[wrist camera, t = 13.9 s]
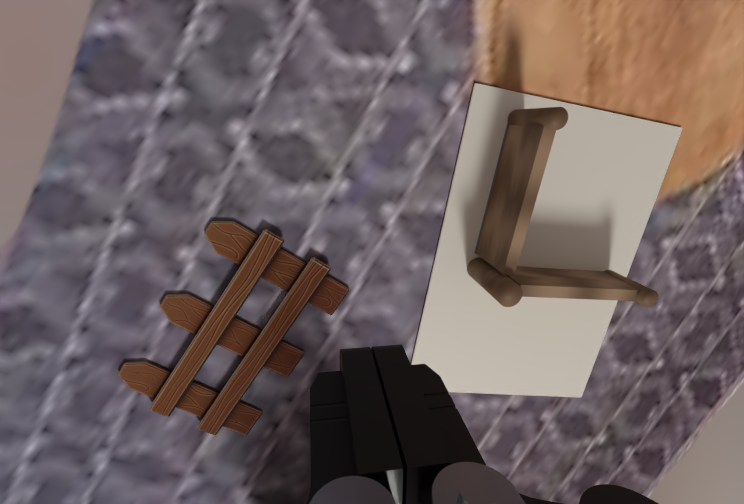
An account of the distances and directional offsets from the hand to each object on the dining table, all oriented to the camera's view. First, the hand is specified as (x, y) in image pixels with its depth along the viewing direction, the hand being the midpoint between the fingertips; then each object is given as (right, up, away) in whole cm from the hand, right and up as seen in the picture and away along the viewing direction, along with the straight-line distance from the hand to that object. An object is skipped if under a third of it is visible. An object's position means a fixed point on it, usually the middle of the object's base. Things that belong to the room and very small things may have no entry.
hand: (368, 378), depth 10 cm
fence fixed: (+13, +9, +31) cm, 35 cm away
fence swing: (+21, +1, +34) cm, 40 cm away
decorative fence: (-14, -5, +32) cm, 36 cm away
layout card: (+19, +2, +35) cm, 39 cm away
